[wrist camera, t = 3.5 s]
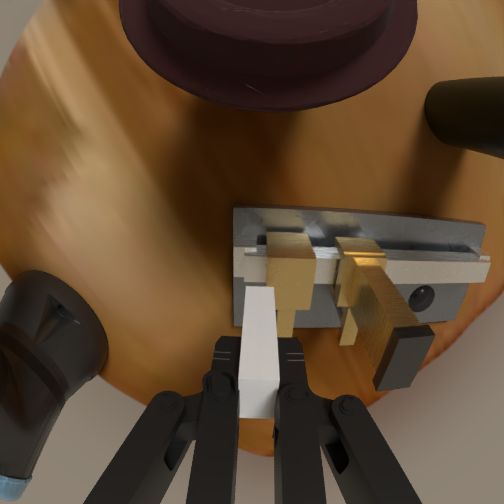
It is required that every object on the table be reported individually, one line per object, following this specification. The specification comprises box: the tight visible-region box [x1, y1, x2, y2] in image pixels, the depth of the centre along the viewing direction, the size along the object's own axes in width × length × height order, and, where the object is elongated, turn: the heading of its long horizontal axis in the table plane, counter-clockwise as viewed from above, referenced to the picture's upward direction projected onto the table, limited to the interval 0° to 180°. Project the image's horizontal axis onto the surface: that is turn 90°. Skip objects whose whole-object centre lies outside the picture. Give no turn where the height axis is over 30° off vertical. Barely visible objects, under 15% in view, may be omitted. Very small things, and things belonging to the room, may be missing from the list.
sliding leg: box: [328, 237, 435, 392], centre depth 18 cm, size 3×8×12 cm, turn 179°
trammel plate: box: [233, 204, 491, 337], centre depth 22 cm, size 24×11×6 cm, turn 89°
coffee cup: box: [119, 0, 418, 112], centre depth 11 cm, size 10×10×15 cm
